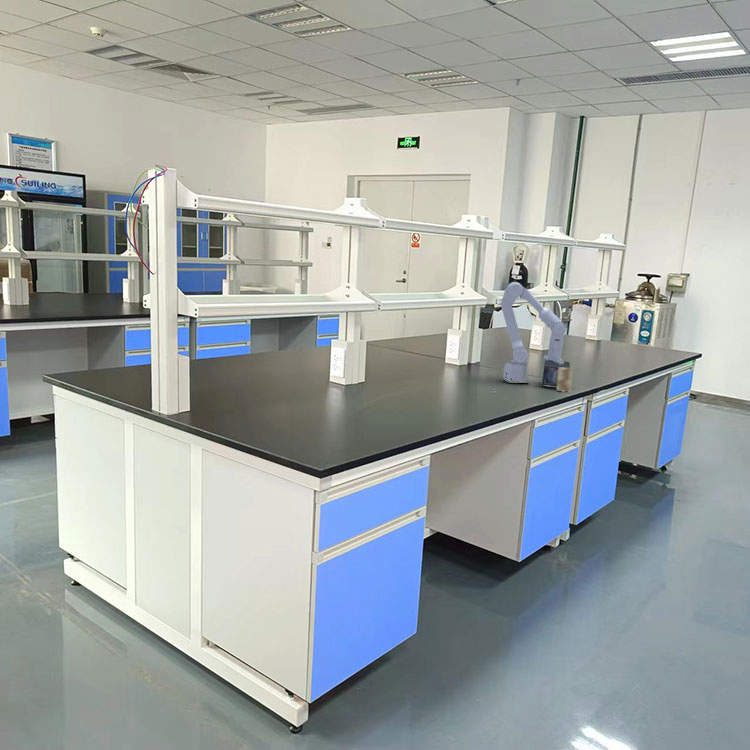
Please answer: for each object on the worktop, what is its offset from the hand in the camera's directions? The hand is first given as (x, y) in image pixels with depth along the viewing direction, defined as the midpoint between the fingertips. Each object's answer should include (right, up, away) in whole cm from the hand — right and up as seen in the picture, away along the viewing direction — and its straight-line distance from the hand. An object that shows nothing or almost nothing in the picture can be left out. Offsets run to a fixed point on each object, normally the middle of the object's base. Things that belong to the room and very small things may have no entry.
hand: (550, 379), depth 286 cm
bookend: (+2, -5, -11) cm, 12 cm away
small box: (+1, -3, -3) cm, 4 cm away
